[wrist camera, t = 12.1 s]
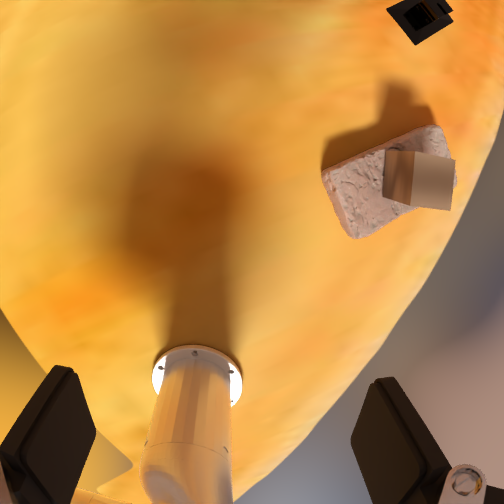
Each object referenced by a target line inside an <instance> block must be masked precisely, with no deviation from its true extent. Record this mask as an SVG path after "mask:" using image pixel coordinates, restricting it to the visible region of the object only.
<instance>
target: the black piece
mask: <svg viewBox="0 0 504 504" xmlns="http://www.w3.org/2000/svg"><path fill="white" fill-rule="evenodd" d="M386 10H387V12H388V13H389V14H390V15H391V16H392V17H393V19H394V20H395V21H396V22H397V23H398V25H399V26H400V27H401V28H402V30H403V31H404V32H405V33H406V35H407V36H408V37H409V38H410V40H411V41H412V42H413V44H414V45H417V44H419V43H420V42H422V41H423V40H425V39H427V38H428V37H430V36H431V35H433V34H435V33H436V32H438V31H439V30H441V29H443V28H444V27H446V26H448V25H449V24H451V23H453V20H452V18H451V17H450V16H449V14H448V13H450V12H452V11H453V10H452V8H451V7H450V6H449V4H448V3H447V2H446V1H445V0H404V1H401V2H399V3H397V4H395V5H393V6H391V7H389V8H387V9H386Z"/></svg>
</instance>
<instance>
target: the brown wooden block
mask: <svg viewBox="0 0 504 504" xmlns="http://www.w3.org/2000/svg"><path fill="white" fill-rule="evenodd" d="M454 173H455V160H453V159H449V158H444V157H440V156H435V155H431V154H426V153H421V152H416V151H386V161H385V174H384V185H383V196H382V197H384V198H387V199H391V200H394V201H397V202H400V203H403V204H406V205H409V206H415V207H423V208H432V209H440V210H448V211H450V209H451V202H452V193H453V184H454Z"/></svg>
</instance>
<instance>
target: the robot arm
mask: <svg viewBox="0 0 504 504" xmlns="http://www.w3.org/2000/svg"><path fill="white" fill-rule="evenodd" d="M152 382H153V386H154V389H155V391H156V393H157V394H158V397H157V400H156V404H155V408H154V411H153V415H152V419H151V423H150V426H149V430H148V434H147V438H146V442H145V446H144V450H143V454H142V458H141V462H140V468H139V473H140V480H141V484H142V486H143V489H144V491H145V493H146V494H147V496H148V498H149V499H150V501H151V502H152V504H233V493H232V445H231V406H232V405H234V404H235V403H236V401H237V400H238V399H239V397H240V395H241V392H242V377H241V373H240V371H239V369H238V367H237V365H236V364H235V363H234V362H233V361H232V360H231V359H230V358H229V357H228V356H227V355H225V354H223V353H222V352H220V351H218V350H215V349H213V348H210V347H206V346H201V345H183V346H179V347H175V348H173V349H171V350H168V351H167V352H165V353H164V354H163V355H162V356H161V357H160V358H159V359H158V360H157V362H156V364H155V366H154V369H153V372H152ZM95 436H96V428H95V425H94V422H93V420H92V417H91V414H90V411H89V408H88V405H87V402H86V399H85V396H84V393H83V390H82V387H81V384H80V380H79V377H78V375H77V373H74V371H73V369H72V368H70V367H65V366H60V365H55V366H54V367H53V368H52V369H51V371H50V372H49V373H48V375H47V376H46V378H45V379H44V380H43V382H42V383H41V385H40V386H39V388H38V389H37V390H36V392H35V393H34V395H33V396H32V398H31V399H30V401H29V402H28V404H27V405H26V406H25V408H24V409H23V411H22V413H21V414H20V415H19V417H18V418H17V420H16V422H15V423H14V425H13V426H12V428H11V429H10V431H9V433H8V434H7V436H6V437H5V439H4V441H3V442H2V444H1V445H0V504H131V503H128V502H124V501H120V500H117V499H113V498H110V497H106V496H103V495H100V494H97V493H94V492H90V491H87V490H84V489H80V488H76V486H77V484H78V481H79V478H80V476H81V473H82V470H83V467H84V465H85V462H86V460H87V457H88V455H89V452H90V449H91V447H92V444H93V442H94V439H95ZM351 446H352V449H353V451H354V454H355V457H356V459H357V462H358V465H359V467H360V470H361V473H362V476H363V478H364V481H365V483H366V486H367V489H368V492H369V495H370V497H371V500H372V503H373V504H504V489H500V488H496V487H492V486H488V485H486V479H485V475H484V474H483V473H482V471H481V470H480V469H478V468H477V467H475V466H472V465H468V464H462V465H458V466H456V467H454V468H452V467H451V465H450V464H449V462H448V460H447V459H446V457H445V455H444V454H443V452H442V451H441V449H440V447H439V446H438V444H437V443H436V441H435V439H434V438H433V436H432V434H431V433H430V431H429V430H428V428H427V426H426V425H425V423H424V422H423V420H422V419H421V417H420V415H419V414H418V413H417V411H416V409H415V408H414V406H413V405H412V403H411V402H410V400H409V399H408V397H407V396H406V394H405V392H404V391H403V389H402V388H401V386H400V385H399V383H398V382H397V380H396V379H395V378H394V377H385V378H378V379H376V380H375V381H374V383H372V384H370V386H369V389H368V392H367V395H366V398H365V401H364V404H363V406H362V409H361V412H360V415H359V418H358V420H357V423H356V426H355V428H354V430H353V433H352V436H351Z"/></svg>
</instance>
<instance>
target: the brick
mask: <svg viewBox="0 0 504 504" xmlns="http://www.w3.org/2000/svg"><path fill="white" fill-rule="evenodd" d="M386 151H416V152H421V153H426V154H431V155H435V156H440V157H444V158H449V159H451V155H450V151H449V149H448V147H447V142H446V139H445V137H444V134H443V130H442V129H441V127H440V126H437V125H435V124H433V125H426V126H424V127H419V128H416V129H413V130H412V131H409V132H407V133H406V134H404V135H401V136H399V137H397V138H393V139H390V140H389V141H387V142H386V143H383V144H381V145H378V146H376V147H374V148H371V149H368V150H366V151H364V152H362V153H359V154H357V155H355V156H354V157H351V158H349V159H347V160H344V161H342V162H340V163H338V164H336V165H334V166H331V167H329V168H327V169H324V170H323V171H322V174H321V176H322V181H323V184H324V186H325V189H326V190H327V193H328V196H329V198H330V200H331V202H332V203H333V206H334V210H335V213H336V215H337V217H338V218H339V220H340V223H341V226H342V227H343V229H344V230H345V231H346V233H347V234H348V236H350V237H351V238H353V239H359V238H363V237H367V236H369V235H371V234H372V233H374V232H376V231H377V230H379V229H381V228H382V227H384V226H385V225H387V224H388V223H390V222H391V221H392V220H394V219H397V218H398V217H399V216H400V215H402V214H405V213H408V212H410V211H412V210H414V209H417V208H419V207H415V206H409V205H406V204H403V203H400V202H397V201H394V200H391V199H387V198H384V197H382V196H383V185H384V174H385V161H386ZM456 185H457V176H456V170H455V173H454V184H453V188H454V187H455V186H456Z"/></svg>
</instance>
